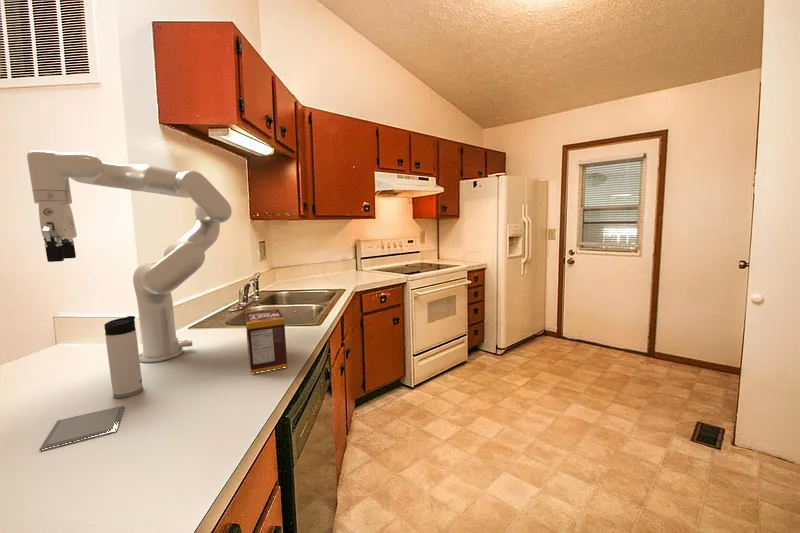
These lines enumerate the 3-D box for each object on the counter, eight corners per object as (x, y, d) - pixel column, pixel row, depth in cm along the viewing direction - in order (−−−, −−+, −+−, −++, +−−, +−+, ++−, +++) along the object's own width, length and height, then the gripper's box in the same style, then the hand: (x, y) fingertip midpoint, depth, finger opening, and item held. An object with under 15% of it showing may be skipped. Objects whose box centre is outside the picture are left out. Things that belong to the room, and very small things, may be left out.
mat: (124, 407, 86) (124, 404, 86) (116, 431, 76) (116, 429, 76) (57, 422, 80) (57, 420, 80) (39, 451, 70) (39, 448, 70)
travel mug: (149, 388, 96) (141, 316, 93) (124, 400, 90) (114, 323, 87) (133, 385, 98) (125, 314, 95) (107, 396, 92) (97, 321, 89)
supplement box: (281, 352, 121) (278, 307, 119) (287, 368, 107) (284, 318, 105) (248, 357, 117) (244, 311, 115) (250, 375, 103) (246, 323, 101)
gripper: (59, 196, 92) (69, 261, 94) (80, 199, 107) (89, 256, 109) (19, 195, 88) (30, 264, 90) (47, 199, 103) (56, 258, 106)
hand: (62, 259), depth 100 cm, fingers open, 9 cm apart
